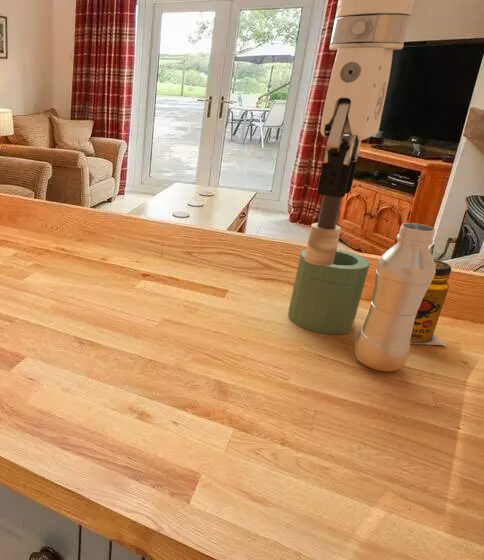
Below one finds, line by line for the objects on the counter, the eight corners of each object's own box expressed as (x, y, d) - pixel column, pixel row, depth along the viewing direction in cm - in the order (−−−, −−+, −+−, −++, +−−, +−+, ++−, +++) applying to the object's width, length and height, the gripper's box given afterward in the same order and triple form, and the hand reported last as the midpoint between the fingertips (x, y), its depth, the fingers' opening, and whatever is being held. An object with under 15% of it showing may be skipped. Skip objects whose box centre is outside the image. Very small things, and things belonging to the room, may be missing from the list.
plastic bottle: (410, 365, 68) (456, 228, 61) (393, 383, 64) (440, 238, 56) (361, 347, 73) (398, 216, 65) (342, 363, 69) (379, 225, 61)
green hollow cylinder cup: (358, 318, 81) (375, 256, 77) (343, 340, 75) (361, 274, 70) (298, 302, 87) (311, 243, 83) (279, 321, 80) (292, 258, 76)
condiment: (394, 343, 74) (417, 269, 70) (370, 317, 82) (390, 249, 77) (446, 346, 73) (472, 272, 69) (417, 320, 81) (439, 252, 77)
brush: (336, 260, 68) (361, 149, 62) (329, 268, 65) (355, 152, 59) (308, 254, 70) (331, 146, 64) (301, 261, 67) (323, 149, 61)
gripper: (393, 29, 49) (350, 210, 56) (415, 38, 60) (378, 187, 67) (313, 32, 53) (283, 200, 60) (348, 40, 64) (319, 180, 72)
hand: (333, 192), depth 64 cm, fingers closed on brush, 2 cm apart
